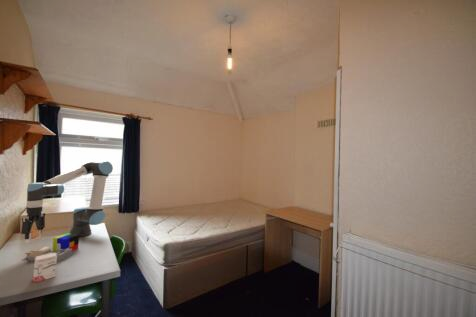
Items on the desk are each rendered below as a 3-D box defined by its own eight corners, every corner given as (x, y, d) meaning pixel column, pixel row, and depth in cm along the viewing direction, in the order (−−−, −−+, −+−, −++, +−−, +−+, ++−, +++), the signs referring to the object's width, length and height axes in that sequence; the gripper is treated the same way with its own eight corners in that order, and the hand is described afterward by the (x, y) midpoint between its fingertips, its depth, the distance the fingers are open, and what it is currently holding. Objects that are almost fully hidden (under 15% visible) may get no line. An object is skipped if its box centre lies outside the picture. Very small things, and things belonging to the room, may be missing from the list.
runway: (42, 255, 139) (43, 246, 139) (71, 256, 139) (72, 247, 139) (27, 262, 129) (28, 252, 129) (59, 263, 129) (59, 253, 129)
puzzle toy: (63, 254, 139) (64, 239, 139) (52, 252, 141) (53, 237, 141) (78, 248, 149) (79, 234, 149) (66, 247, 151) (67, 233, 151)
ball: (33, 236, 137) (33, 227, 137) (42, 237, 138) (42, 228, 138) (23, 240, 131) (24, 230, 131) (33, 240, 132) (33, 231, 132)
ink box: (33, 283, 106) (35, 259, 106) (32, 279, 109) (34, 256, 109) (55, 276, 112) (57, 254, 113) (54, 273, 116) (55, 252, 116)
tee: (30, 255, 136) (31, 250, 136) (36, 255, 136) (37, 250, 136) (24, 257, 132) (25, 253, 132) (30, 258, 132) (31, 253, 132)
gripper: (42, 203, 144) (40, 236, 144) (13, 209, 125) (11, 247, 125) (53, 203, 144) (51, 236, 144) (25, 210, 125) (24, 248, 125)
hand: (33, 241), depth 134 cm, fingers closed on ball, 6 cm apart
